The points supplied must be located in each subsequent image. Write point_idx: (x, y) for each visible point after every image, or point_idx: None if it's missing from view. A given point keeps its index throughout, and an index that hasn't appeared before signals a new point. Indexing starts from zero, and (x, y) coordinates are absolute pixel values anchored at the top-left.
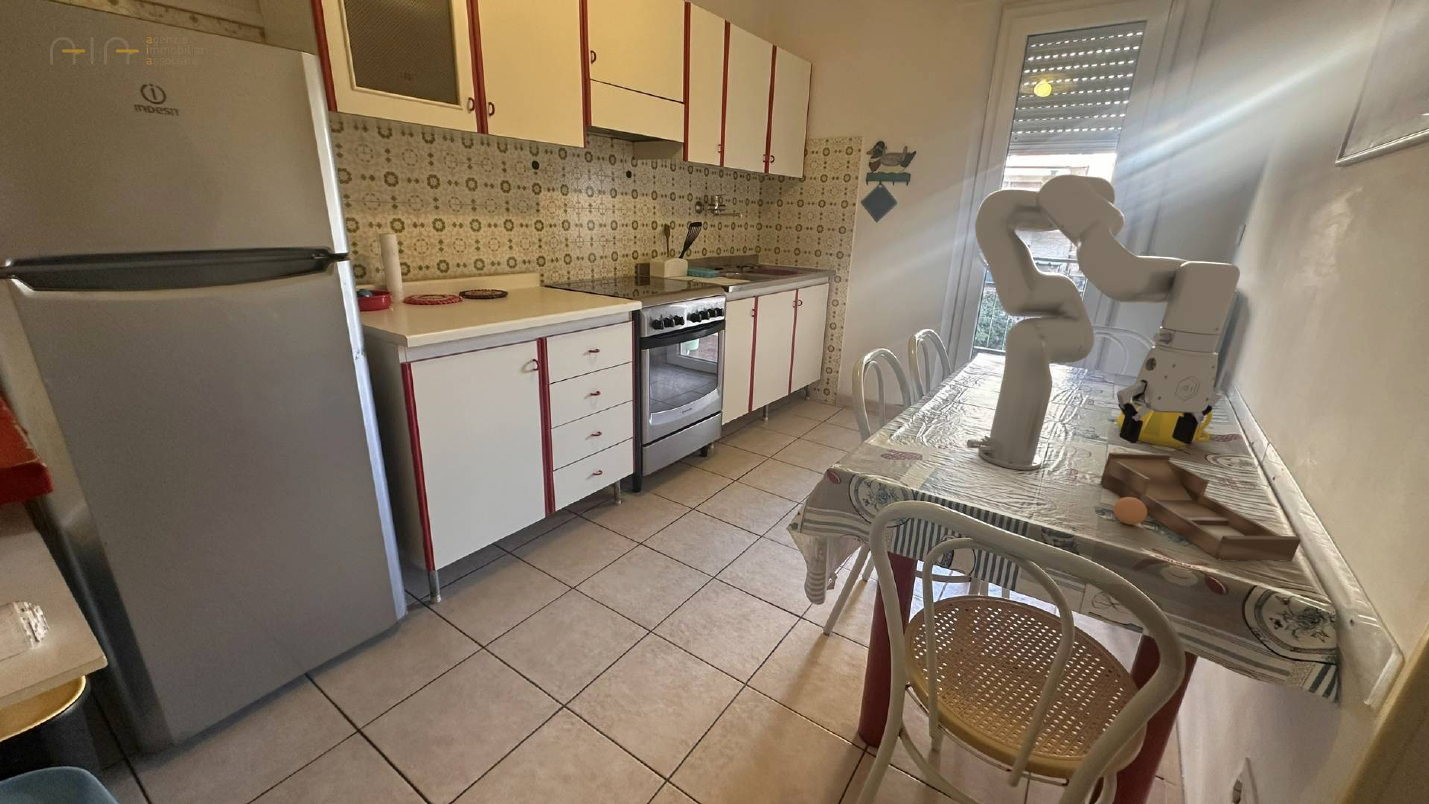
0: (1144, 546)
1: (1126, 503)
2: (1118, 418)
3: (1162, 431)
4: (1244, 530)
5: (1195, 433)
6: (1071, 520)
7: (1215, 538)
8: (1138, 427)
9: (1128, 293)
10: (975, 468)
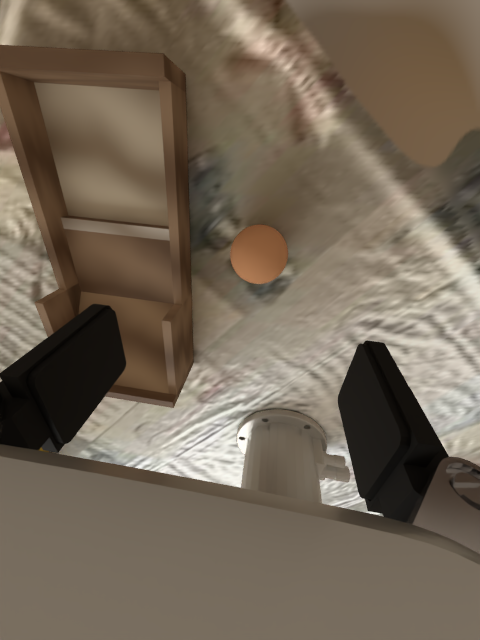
0: (310, 152)
1: (278, 257)
2: None
3: None
4: (52, 180)
5: None
6: (369, 266)
7: (172, 100)
8: (418, 405)
9: None
10: None
